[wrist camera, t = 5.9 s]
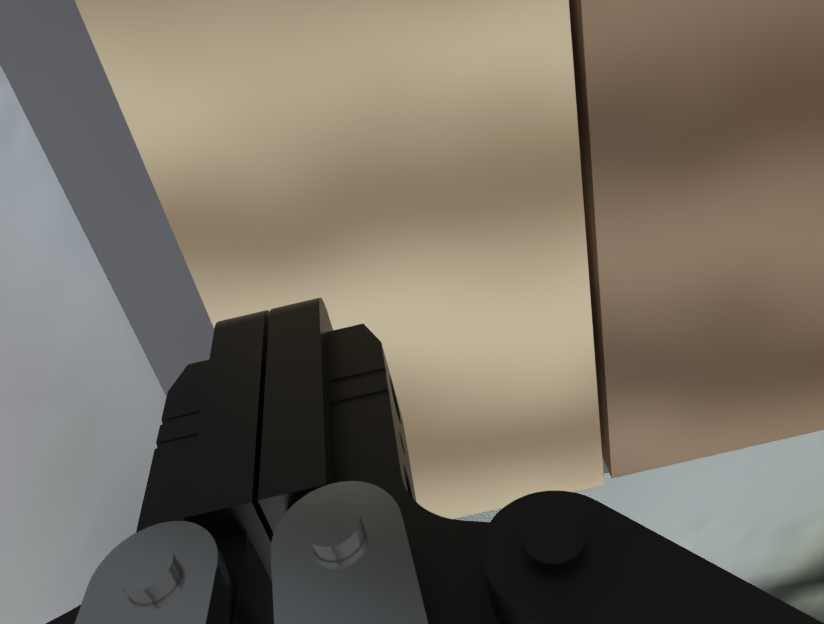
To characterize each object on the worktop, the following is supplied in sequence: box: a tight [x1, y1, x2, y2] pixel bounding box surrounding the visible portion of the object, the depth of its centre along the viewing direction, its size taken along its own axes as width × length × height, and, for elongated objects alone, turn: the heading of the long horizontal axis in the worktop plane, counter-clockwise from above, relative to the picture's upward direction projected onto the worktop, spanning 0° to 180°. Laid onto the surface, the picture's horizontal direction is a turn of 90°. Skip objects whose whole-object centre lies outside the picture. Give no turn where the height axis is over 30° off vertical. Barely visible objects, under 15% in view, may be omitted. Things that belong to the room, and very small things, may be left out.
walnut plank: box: [569, 0, 824, 478], centre depth 17 cm, size 22×9×2 cm, turn 11°
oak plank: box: [75, 0, 604, 519], centre depth 17 cm, size 22×9×2 cm, turn 11°
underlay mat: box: [0, 0, 609, 474], centre depth 18 cm, size 26×22×1 cm
